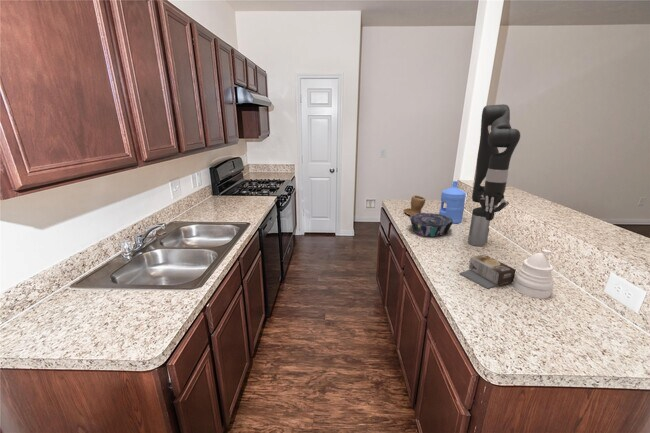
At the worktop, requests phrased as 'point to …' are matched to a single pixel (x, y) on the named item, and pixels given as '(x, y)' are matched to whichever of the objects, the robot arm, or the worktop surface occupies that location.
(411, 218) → the decorative bowl
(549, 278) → the honey pot
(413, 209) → the brown boot
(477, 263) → the coffee box
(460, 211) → the water jug
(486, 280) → the rubber mat
